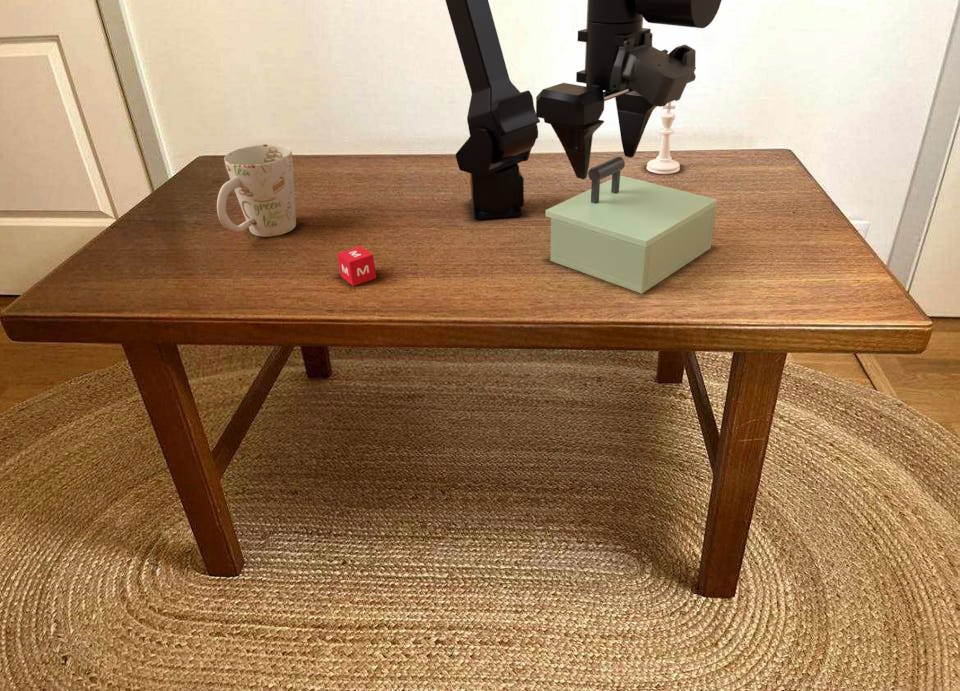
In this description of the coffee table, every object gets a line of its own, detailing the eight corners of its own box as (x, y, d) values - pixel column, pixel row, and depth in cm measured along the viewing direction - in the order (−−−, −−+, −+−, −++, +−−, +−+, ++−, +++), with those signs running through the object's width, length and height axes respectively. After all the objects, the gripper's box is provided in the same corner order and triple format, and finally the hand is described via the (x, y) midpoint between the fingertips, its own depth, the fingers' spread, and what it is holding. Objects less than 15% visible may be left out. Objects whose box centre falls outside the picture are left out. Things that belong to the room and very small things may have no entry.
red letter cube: (376, 278, 83) (373, 254, 81) (353, 286, 82) (349, 262, 80) (363, 269, 85) (360, 245, 83) (340, 277, 84) (337, 253, 82)
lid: (545, 216, 83) (545, 174, 80) (619, 180, 91) (621, 141, 88) (646, 248, 75) (650, 202, 72) (716, 205, 83) (722, 163, 80)
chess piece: (680, 174, 107) (687, 105, 102) (646, 173, 108) (652, 105, 103) (679, 163, 111) (686, 97, 106) (646, 162, 112) (652, 96, 107)
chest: (550, 261, 85) (550, 218, 82) (621, 222, 94) (624, 182, 91) (641, 293, 77) (645, 248, 75) (710, 248, 86) (716, 206, 83)
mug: (317, 220, 98) (304, 147, 93) (256, 258, 89) (238, 180, 83) (268, 212, 101) (253, 141, 96) (205, 248, 92) (184, 172, 86)
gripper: (628, 42, 64) (617, 208, 72) (731, 12, 75) (711, 160, 83) (532, 30, 71) (532, 184, 79) (640, 4, 82) (630, 142, 90)
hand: (606, 167), depth 83 cm, fingers open, 9 cm apart
